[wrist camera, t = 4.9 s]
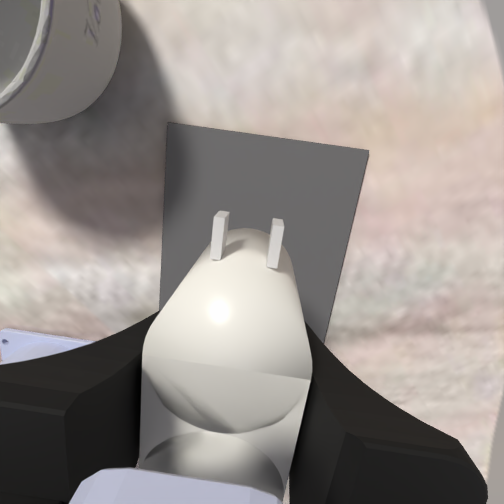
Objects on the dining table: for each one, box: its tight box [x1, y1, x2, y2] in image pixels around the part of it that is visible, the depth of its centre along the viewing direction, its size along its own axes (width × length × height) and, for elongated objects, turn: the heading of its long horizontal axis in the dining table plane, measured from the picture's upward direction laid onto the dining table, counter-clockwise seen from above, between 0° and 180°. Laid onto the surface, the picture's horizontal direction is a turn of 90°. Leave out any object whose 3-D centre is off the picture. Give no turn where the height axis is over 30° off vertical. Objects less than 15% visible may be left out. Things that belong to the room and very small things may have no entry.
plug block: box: [139, 211, 312, 502], centre depth 10 cm, size 9×4×6 cm, turn 172°
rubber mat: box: [159, 122, 369, 343], centre depth 20 cm, size 16×12×1 cm
